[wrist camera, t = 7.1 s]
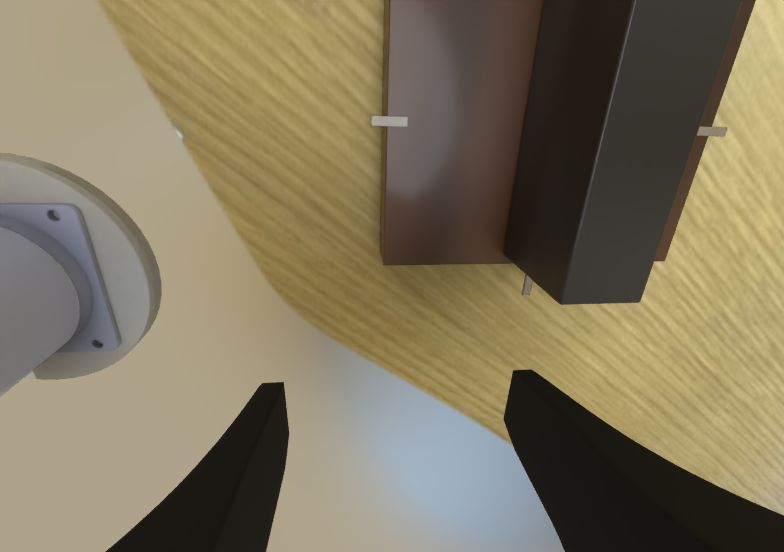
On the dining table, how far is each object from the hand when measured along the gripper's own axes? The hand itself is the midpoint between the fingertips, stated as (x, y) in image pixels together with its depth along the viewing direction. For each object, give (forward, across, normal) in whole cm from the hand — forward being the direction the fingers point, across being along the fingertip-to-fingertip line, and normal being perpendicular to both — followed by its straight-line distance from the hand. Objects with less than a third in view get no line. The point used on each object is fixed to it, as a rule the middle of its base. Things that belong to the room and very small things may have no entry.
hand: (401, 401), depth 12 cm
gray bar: (+6, -7, -8) cm, 12 cm away
